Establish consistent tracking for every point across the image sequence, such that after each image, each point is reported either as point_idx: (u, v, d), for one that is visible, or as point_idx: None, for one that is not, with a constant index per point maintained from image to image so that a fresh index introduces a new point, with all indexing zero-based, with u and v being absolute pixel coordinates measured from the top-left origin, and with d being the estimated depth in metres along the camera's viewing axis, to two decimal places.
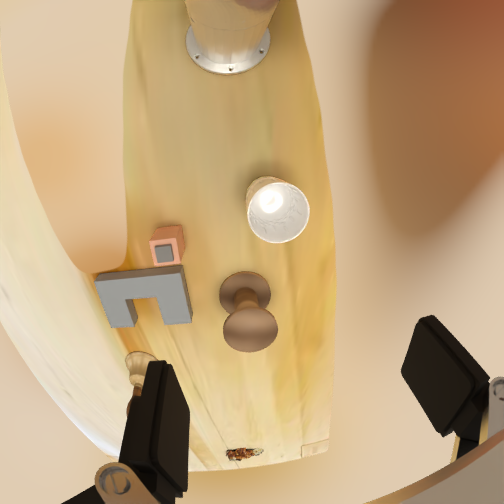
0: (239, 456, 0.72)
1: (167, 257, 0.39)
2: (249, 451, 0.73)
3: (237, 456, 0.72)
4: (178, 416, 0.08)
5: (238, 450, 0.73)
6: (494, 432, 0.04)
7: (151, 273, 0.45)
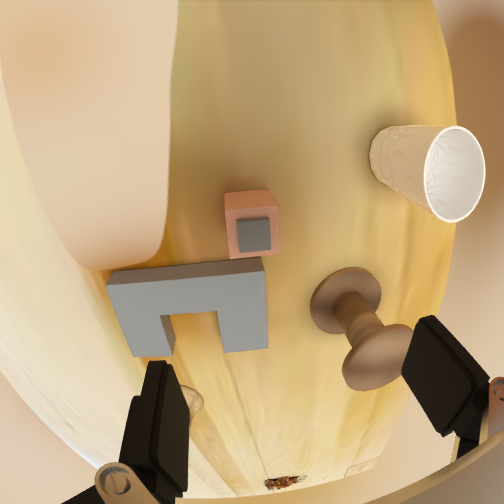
0: (281, 485, 0.56)
1: (260, 242, 0.21)
2: (293, 479, 0.57)
3: (278, 485, 0.56)
4: (178, 416, 0.08)
5: (280, 479, 0.57)
6: (494, 432, 0.04)
7: (209, 272, 0.27)
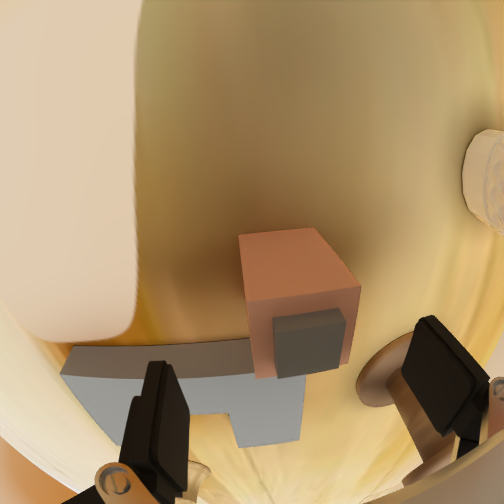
0: None
1: (321, 360, 0.10)
2: None
3: None
4: (178, 416, 0.08)
5: None
6: (494, 432, 0.04)
7: (215, 365, 0.15)
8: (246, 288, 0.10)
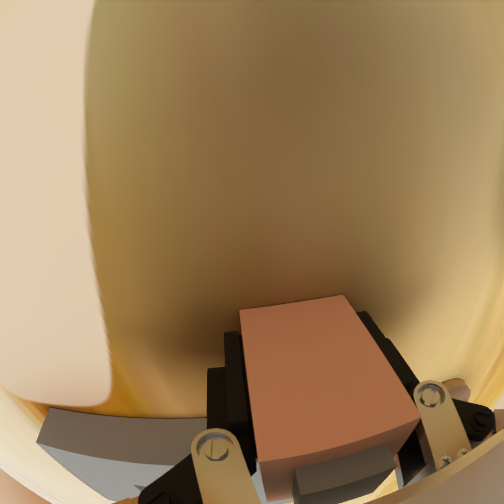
0: None
1: (354, 494, 0.05)
2: None
3: None
4: None
5: None
6: (438, 444, 0.04)
7: None
8: (256, 433, 0.05)
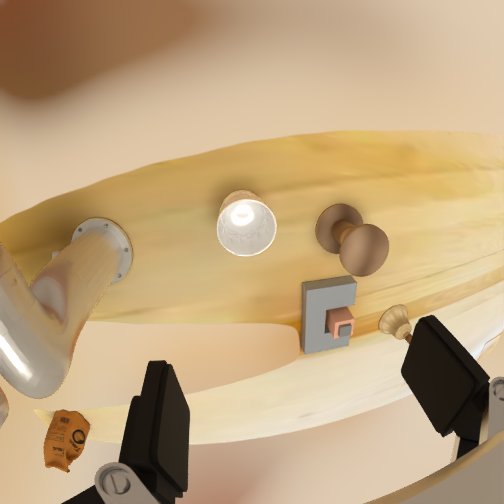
0: None
1: (347, 333, 0.50)
2: None
3: None
4: (178, 416, 0.08)
5: None
6: (494, 432, 0.04)
7: (304, 311, 0.53)
8: (334, 320, 0.51)
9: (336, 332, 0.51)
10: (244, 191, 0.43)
